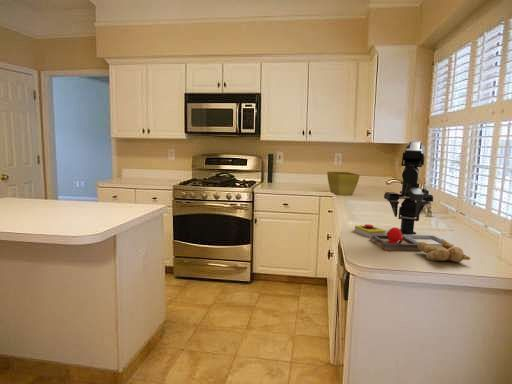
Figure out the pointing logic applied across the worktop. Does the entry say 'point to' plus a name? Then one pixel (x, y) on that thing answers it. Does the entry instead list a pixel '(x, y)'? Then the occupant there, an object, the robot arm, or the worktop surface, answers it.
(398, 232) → the red rounded lump
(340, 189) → the flower pot
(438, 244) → the tray
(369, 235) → the emergency button
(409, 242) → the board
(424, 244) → the ginger root
